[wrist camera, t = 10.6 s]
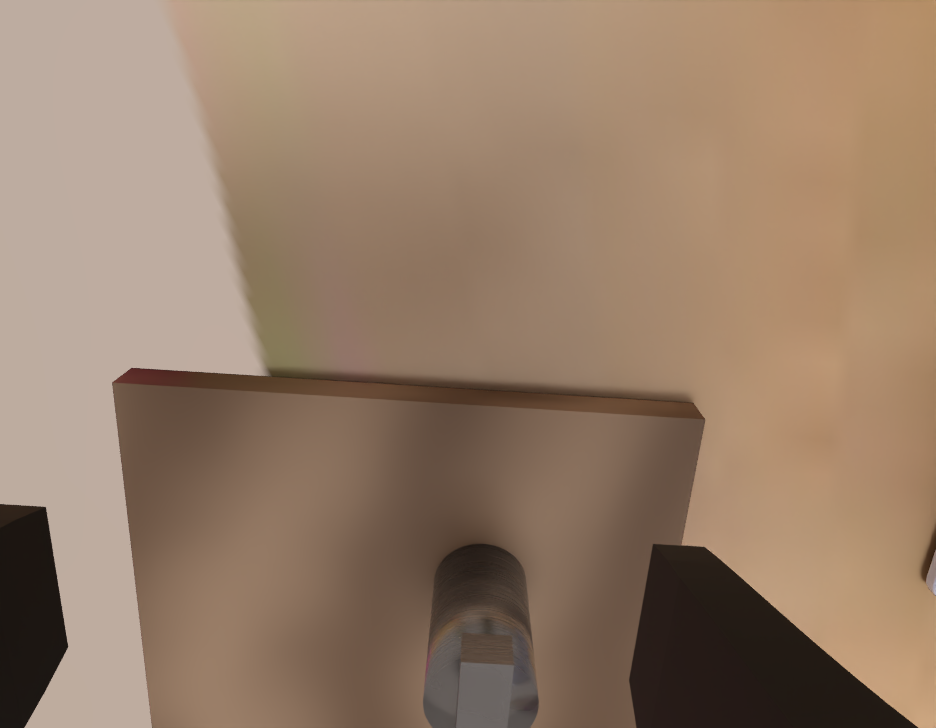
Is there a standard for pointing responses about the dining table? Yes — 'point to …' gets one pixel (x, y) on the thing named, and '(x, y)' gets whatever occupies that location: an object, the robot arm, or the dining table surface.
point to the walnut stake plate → (384, 538)
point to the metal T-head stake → (480, 643)
